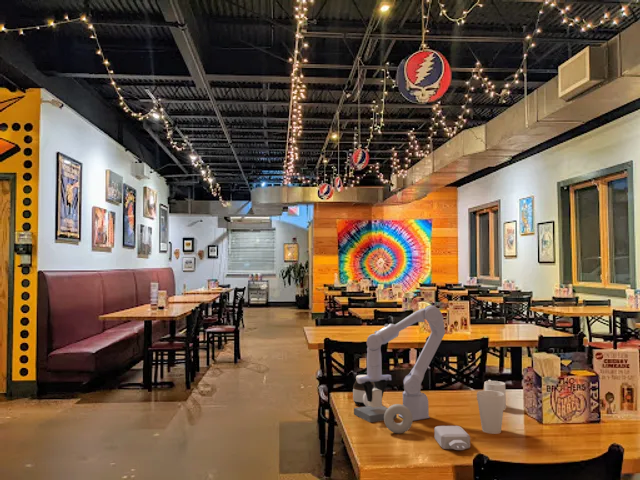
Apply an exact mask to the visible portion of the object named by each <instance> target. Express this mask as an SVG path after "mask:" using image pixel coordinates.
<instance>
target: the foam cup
mask: <svg viewBox="0 0 640 480" xmlns="http://www.w3.org/2000/svg"><path fill="white" fill-rule="evenodd" d="M476 400H477V404H478V411H479V417H480V424H481V425H480V426H481V429H482V432H483V433H487V434H491V435H492V434H493V435H494V434H495V435H496V434H500V433H502V426H503V417H504V410H503V408H504V402H505V394H504V393H502V392H498V391H491V390H485V389H483V390H478V391H476Z"/></svg>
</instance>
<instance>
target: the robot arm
mask: <svg viewBox="0 0 640 480" xmlns="http://www.w3.org/2000/svg"><path fill="white" fill-rule="evenodd" d="M425 320H426V322H427V323H428V326H429V328H430V334H429V336H428V338H427V340H426V342H425V344H424V345H423V348H422V350H421V352H420V353H419V356H418V357H417V359H416V362H415V363H414V365H413V367H412V369H411V370H410V372H409V373H408V374H407V375H405V377H404V378H403V381H402V382H403V389H404V391H402V405H404V406H406V407H407V408H408V409H409V410H410V412H411V414H412V418H413V421H419V420H425V419H430V417H431V416H429V399H428V396H427V394H425V393H424V392H422V391H421V389H422V387H421V386H422V382H423V380H424V377H425V373H426V371H427V370H428V368H429V366H430V364H431V362H432V360H433V359H434V356H435V354H436V352H437V350H438V348H439V346H440V344H441V343H442V340H443V338H444V336H445V334H446V331H445V323H444V322H445V321H444V316H443V313H442V312H441V310H440V309H439V308H438V307H436V306H435V305H433V304H432V305H431V304H430V305H427V306H425V307H424V308H423V307H422V308H420V309H418V310H416V311H414V312H412V313H411V314H409V315H408V316H406V317H405V318H403V319H402V320H400V321H399V322H397V323H395V324H394V323H389V324H388V323H385V324H384V326H383V327H382V328H381V329H379V330H375V331H374V332H373V333H372V334H369V335H368V336H367V339H366V346H367V348H366V351H367V353H366V375H367V376H364V377H360V378H357V383H359V384H362V386H363V387H364V390H365V392H366V395H367V400H368V401H370V402H372V390H373V384H371V383H370V382H374V383H375V387H376V389H379V390H382V398H384V397H383V396H384V392H385V390H386V387H387V386H388V381H392V375H391V374H383V371H382V367H383V366H382V364H383V363H382V360H383V359H382V358H383V357H382V351H381V347H382V345H386V344H387V343H389V342H391V341H393V340H394V339H396V338H397V337H398V336H399V334H400V332H401V331H403V330H404V329H407V328H408V327H410V326H412V325H415V324H416V323H425ZM397 416H398V417H400V418H402V419H403V417H402V415H400V414H397ZM413 421H412V422H413Z"/></svg>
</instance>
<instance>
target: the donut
mask: <svg viewBox="0 0 640 480" xmlns="http://www.w3.org/2000/svg"><path fill="white" fill-rule="evenodd" d="M387 408H388V409H387V410H386V412H385V414H384V420H383V421H384V424H385V426H386V428H387V429H388V430H389V431H390V432H391V433H393V434H398V435H399V434H404V433H406V432H407V431H409V430H410V429H411V427H412V425H413V418H412V414H411V412H410V410H409V409H408V408H407V407H406V406H404V405H403V404H401V403H394V404H391V405H390V406H388V407H387ZM396 414H397V415H402V417H403V418H402V417H401V418H402V421H401V422H396V421H395V419H393V418H394V416H395V415H396Z"/></svg>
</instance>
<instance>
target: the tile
mask: <svg viewBox="0 0 640 480" xmlns="http://www.w3.org/2000/svg"><path fill="white" fill-rule="evenodd" d="M388 408H389V407H386V406H384V405H382V406H380V407H371V406H359V407H354V408H353V415H354V416H356V417H358V418H360V419H363V420H364V421H366V422H368V423H374V422H382V421H384V414H385V412H386V410H387V409H388ZM397 416H398V414H396V415H395V416H394V418H393V419H394V420H395V419H397Z"/></svg>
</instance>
